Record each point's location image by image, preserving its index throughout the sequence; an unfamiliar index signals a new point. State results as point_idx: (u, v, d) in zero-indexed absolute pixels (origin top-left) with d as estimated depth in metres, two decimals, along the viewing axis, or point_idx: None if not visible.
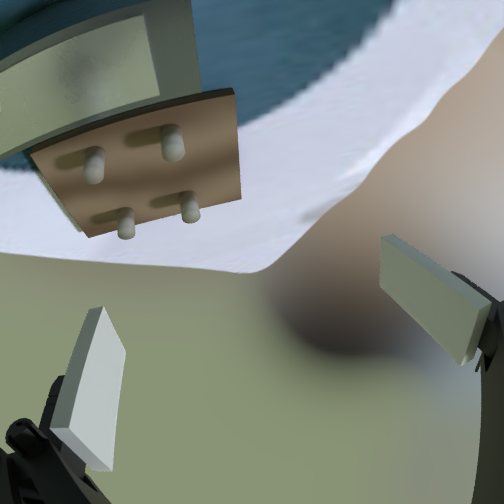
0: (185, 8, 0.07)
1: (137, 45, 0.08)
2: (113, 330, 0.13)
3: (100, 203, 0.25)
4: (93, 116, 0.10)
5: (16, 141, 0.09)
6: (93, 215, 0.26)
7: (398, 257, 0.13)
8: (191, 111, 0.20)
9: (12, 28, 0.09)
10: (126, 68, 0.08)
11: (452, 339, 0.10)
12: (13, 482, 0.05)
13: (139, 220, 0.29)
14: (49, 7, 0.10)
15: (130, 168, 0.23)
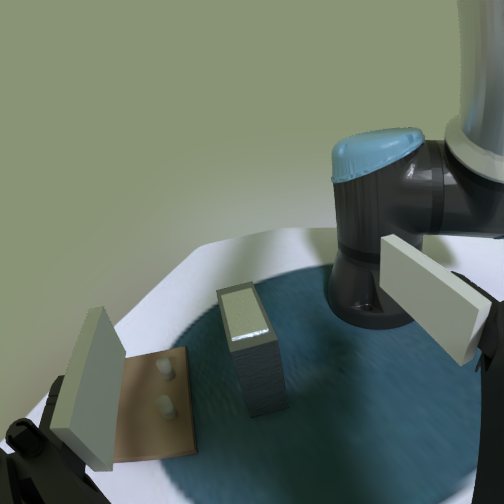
0: (270, 339, 0.25)
1: (255, 330, 0.26)
2: (113, 330, 0.13)
3: (129, 373, 0.35)
4: (225, 322, 0.28)
5: (224, 300, 0.31)
6: None
7: (398, 257, 0.13)
8: (184, 425, 0.28)
9: None
10: (245, 327, 0.27)
11: (452, 339, 0.10)
12: (13, 482, 0.05)
13: None
14: None
15: (149, 392, 0.32)
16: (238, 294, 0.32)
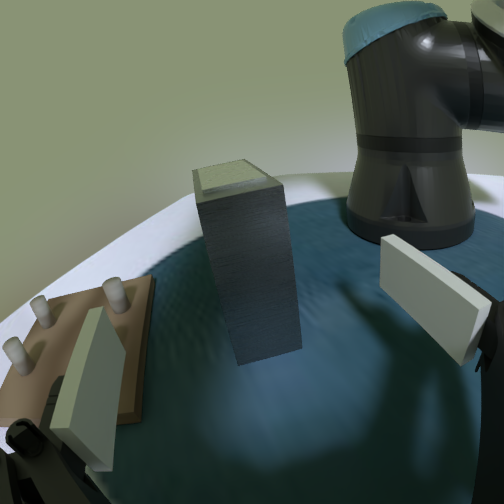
0: (270, 185, 0.14)
1: (244, 183, 0.16)
2: (113, 330, 0.13)
3: (72, 309, 0.25)
4: (197, 184, 0.17)
5: (201, 171, 0.20)
6: (65, 304, 0.26)
7: (398, 257, 0.13)
8: (126, 373, 0.17)
9: None
10: (228, 180, 0.16)
11: (452, 339, 0.10)
12: (13, 482, 0.05)
13: (32, 332, 0.22)
14: None
15: None
16: (222, 165, 0.21)
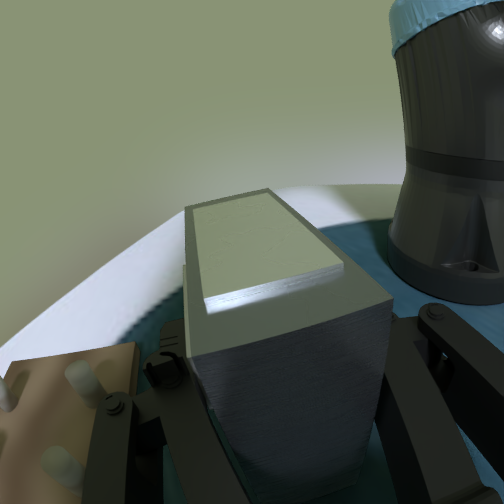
0: (366, 300, 0.06)
1: (294, 275, 0.07)
2: None
3: (36, 386, 0.16)
4: (192, 258, 0.09)
5: (199, 216, 0.12)
6: (29, 374, 0.17)
7: None
8: None
9: None
10: (259, 264, 0.08)
11: None
12: (131, 433, 0.07)
13: None
14: None
15: (57, 427, 0.13)
16: (236, 203, 0.12)
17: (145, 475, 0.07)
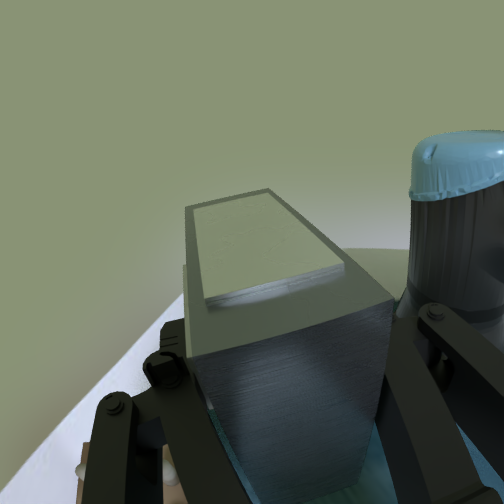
0: (367, 300, 0.06)
1: (295, 274, 0.07)
2: None
3: None
4: (193, 258, 0.09)
5: (199, 216, 0.12)
6: None
7: None
8: None
9: None
10: (260, 264, 0.08)
11: None
12: (131, 433, 0.07)
13: (81, 489, 0.19)
14: None
15: None
16: (236, 203, 0.12)
17: (145, 475, 0.07)
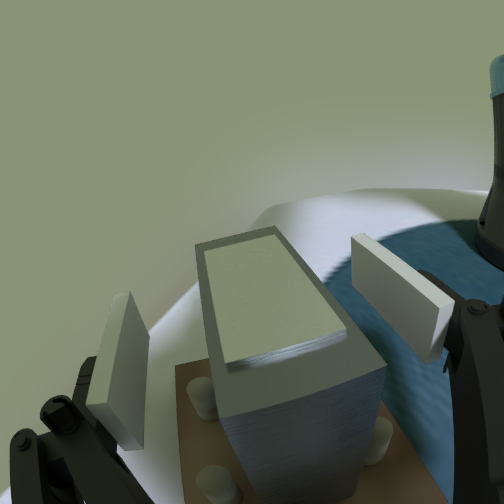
0: (364, 367, 0.07)
1: (303, 338, 0.08)
2: (138, 314, 0.14)
3: None
4: (209, 313, 0.10)
5: (210, 261, 0.13)
6: None
7: (366, 256, 0.13)
8: (408, 465, 0.11)
9: None
10: (272, 327, 0.08)
11: (417, 337, 0.10)
12: (42, 466, 0.06)
13: (185, 427, 0.16)
14: None
15: None
16: (245, 247, 0.13)
17: None
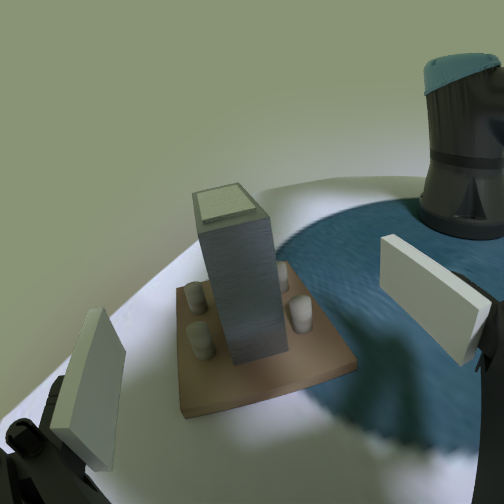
0: (259, 217, 0.17)
1: (237, 213, 0.19)
2: (113, 330, 0.13)
3: None
4: (197, 211, 0.20)
5: (200, 196, 0.23)
6: (205, 290, 0.31)
7: (398, 257, 0.13)
8: (328, 335, 0.22)
9: None
10: (224, 210, 0.19)
11: (452, 339, 0.10)
12: (13, 482, 0.05)
13: (181, 319, 0.27)
14: None
15: None
16: (219, 190, 0.24)
17: None
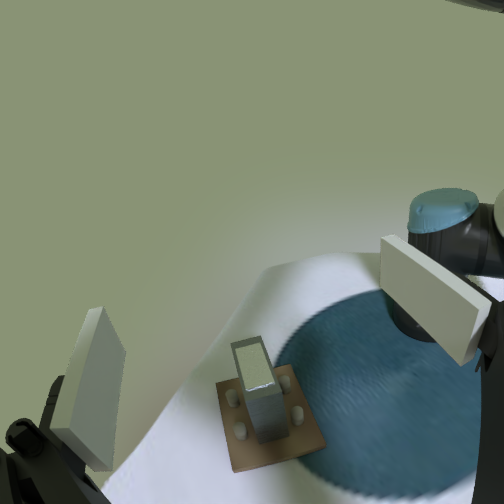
0: (276, 391, 0.31)
1: (264, 383, 0.32)
2: (113, 330, 0.13)
3: None
4: (240, 374, 0.34)
5: (238, 354, 0.37)
6: (236, 387, 0.44)
7: (398, 257, 0.13)
8: (312, 427, 0.36)
9: None
10: (256, 380, 0.32)
11: (452, 339, 0.10)
12: (13, 482, 0.05)
13: (224, 410, 0.41)
14: None
15: None
16: (249, 348, 0.37)
17: None
